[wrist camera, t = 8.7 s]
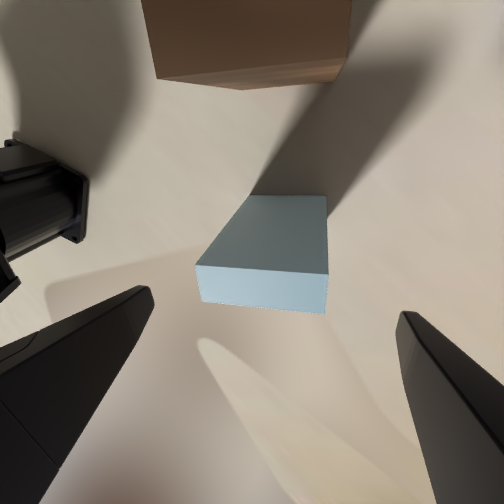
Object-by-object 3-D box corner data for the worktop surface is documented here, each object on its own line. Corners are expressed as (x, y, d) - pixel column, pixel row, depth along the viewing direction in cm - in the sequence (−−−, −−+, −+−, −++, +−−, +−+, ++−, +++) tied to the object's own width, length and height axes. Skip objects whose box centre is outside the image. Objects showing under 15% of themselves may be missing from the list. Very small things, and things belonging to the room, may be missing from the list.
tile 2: (334, 81, 14) (347, 57, 6) (241, 90, 15) (156, 79, 7) (337, 37, 13) (355, -53, 5) (238, 50, 14) (139, -9, 6)
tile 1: (324, 222, 18) (324, 314, 10) (251, 220, 19) (202, 301, 11) (326, 195, 17) (328, 274, 9) (249, 195, 18) (194, 265, 10)
